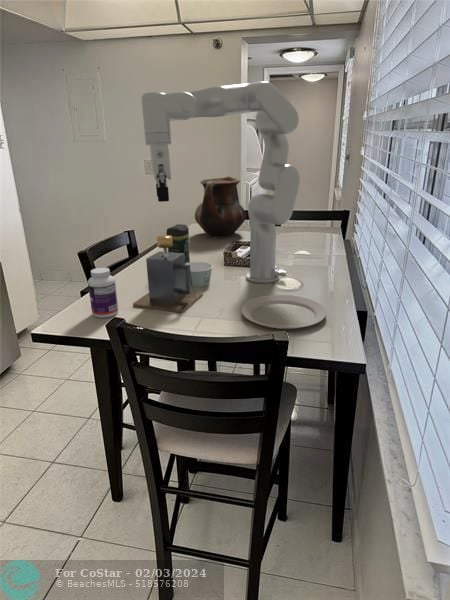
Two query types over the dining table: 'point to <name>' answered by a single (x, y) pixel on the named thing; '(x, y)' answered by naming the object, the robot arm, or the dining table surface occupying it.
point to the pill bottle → (102, 293)
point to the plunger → (164, 243)
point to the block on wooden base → (168, 284)
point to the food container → (200, 273)
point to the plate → (288, 299)
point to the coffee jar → (179, 240)
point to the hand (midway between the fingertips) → (162, 198)
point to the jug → (220, 208)
